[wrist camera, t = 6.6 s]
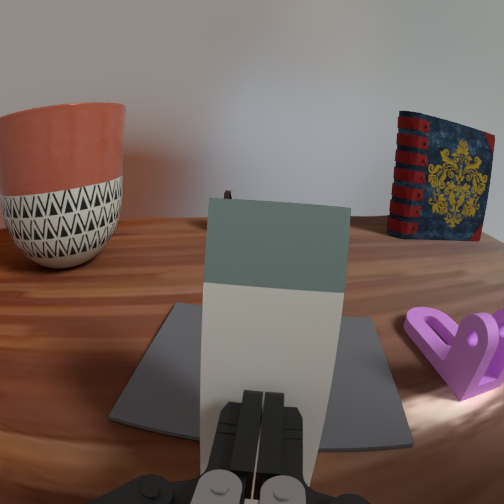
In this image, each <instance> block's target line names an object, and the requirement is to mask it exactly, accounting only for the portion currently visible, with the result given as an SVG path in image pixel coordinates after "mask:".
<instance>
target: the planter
mask: <svg viewBox="0 0 504 504" xmlns="http://www.w3.org/2000/svg"><path fill="white" fill-rule="evenodd" d="M125 113H126V106H125V105H123V104H118V103H99V102H98V103H97V102H94V103H74V104H62V105H53V106H46V107H40V108H34V109H29V110H24V111H20V112H16V113H12V114H9V115H6V116H3V117H0V201H1V206H2V212H3V217H4V220H5V224H6V227H7V229H8V232H9V234H10V236H11V238H12V240H13V242H14V243H15V245H16V247H17V248H18V249H19V250H20V251H21V252H22V253H23V254H24V255H25V256H26V257H28V258H29V259H30V260H32V261H34V262H35V263H37V264H39V265H42V266H45V267H49V268H59V269H61V268H70V267H74V266H78V265H81V264H83V263H85V262H87V261H89V260H91V259H92V258H94V257H95V256H96V255H97V254H98V253H100V251H101V250H102V249H103V248H104V247H105V246H106V245H107V243H108V242H109V240H110V239H111V237H112V236H113V234H114V232H115V230H116V227H117V224H118V220H119V216H120V210H121V204H122V177H123V176H122V175H123V144H124V129H125Z"/></svg>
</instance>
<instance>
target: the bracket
mask: <svg viewBox="0 0 504 504" xmlns="http://www.w3.org/2000/svg"><path fill="white" fill-rule="evenodd" d="M430 327H432V328H433V329H434V330H435V331H436V332H437V333H438V334H439V335H440V336H441V337H442V338H443V339H444V340H445V342H446V343H447V344H448V345H447V344H445V343H444V342H443V341H442V340H441V339H440V337H439V336H438V335H437V334H436V333H435V332H434V331H433V330H432V329H431V328H430ZM404 330H405V332H406V333H407V334H408V336H409V337H410V338H411V339H412V340H413V342H414V343H415V344H416V345H417V347H418V348H419V349H420V350H421V352H422V353H423V354H424V355H425V357H426V358H427V359H428V360H429V362H430V363H431V364H432V366H433V367H434V368H435V369H436V371H437V372H438V373H439V375H440V376H441V377H442V378H443V380H444V381H445V382H446V384H447V385H448V386H449V388H450V389H451V390H452V392H453V393H454V394H455V396H456V397H457V398H458V400H459V401H463V400H466V399H468V398H471V397H474V396H477V395H479V394H482V393H484V392H487V391H489V390H492V389H494V388H497V387H499V386H501V384H502V383H503V381H504V309H500V310H498V311H496V312H495V313H494V314H493V316H491V315H490V314H488V313H484V312H482V313H476V314H470V315H467V316H466V317H465V318H463V320H462V321H461V323H460V325H459V326H458V325H457V324H456V323H455V322H454V321H453V320H452V319H451V318H450V317H449V316H448V315H446V314H445V313H443V312H441V311H439V310H436V309H433V308H428V307H416V308H412V309H410V310H409V311H408V313H407V315H406V319H405V322H404ZM477 336H478V338H477Z"/></svg>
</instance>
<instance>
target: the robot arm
mask: <svg viewBox="0 0 504 504" xmlns="http://www.w3.org/2000/svg"><path fill="white" fill-rule="evenodd" d="M262 400H263V391H253V390H244V392H243V398H242V403H238V402H228V403H227V404H226V405H225V406H224V408H223V409H222V410H221V411H220V416H219V420H218V424H217V428H216V433H215V437H214V441H213V445H212V449H211V453H210V457H209V462H208V465H207V468H206V470H205V471H204V472H203V474H201V475H200V476H199V477H197V478H195V479H192V480H188V481H178V482H168V481H167V480H166V479H164V478H163V477H161V476H158V475H153V474H147V475H143V476H140V477H138V478H136V479H134V480H132V481H130V482H128V483H126V484H125V485H123V486H121V487H119V488H117V489H115V490H113V491H111V492H109V493H107V494H104V495H102V496H100V497H98V498H96V499H94V500H92V501H90V502H87V503H85V504H244V503H245V499H251V494H252V486H253V478H254V471H255V463H256V454H257V446H258V438H259V429H260V420H261V410H262ZM253 500H258V504H370V503H369V502H368V501H366V500H365V499H364V498H363V497H361V496H358V495H355V494H344V495H341V496H338V497H337V498H336V497H332V496H328V495H324V494H321V493H318V492H315V491H314V490H312V489H311V488H310V487H309V486H308V485H307V484H306V483H305V481H304V478H303V417H302V416H301V414H300V412H299V410H298V408H297V407H284V393H278V392H265V397H264V407H263V416H262V425H261V434H260V443H259V451H258V460H257V468H256V477H255V485H254V494H253Z"/></svg>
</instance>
